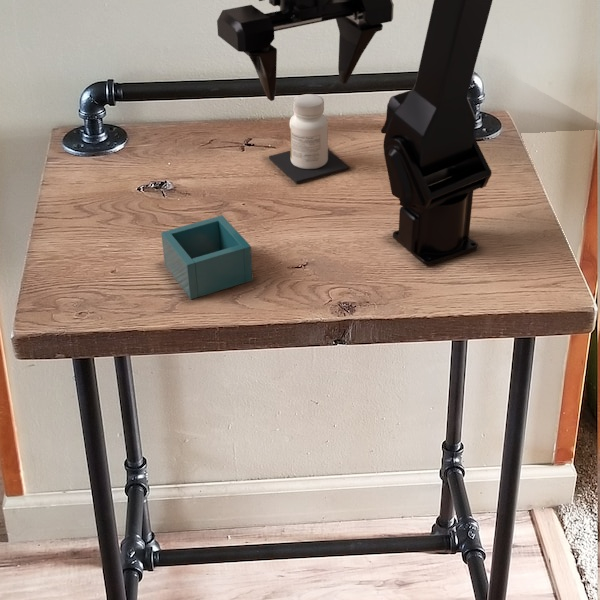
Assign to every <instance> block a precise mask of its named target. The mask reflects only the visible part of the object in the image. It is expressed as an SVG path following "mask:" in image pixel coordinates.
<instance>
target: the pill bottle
mask: <svg viewBox="0 0 600 600" xmlns="http://www.w3.org/2000/svg"><path fill="white" fill-rule="evenodd" d="M292 104H293V105H292V107H293V111H292V112H293V115H292V116H291V117H290V118H289V151H290V157H291V162H292V164H293V165H294V166H296V167H298V168H302V169H316V168H320V167H322V166H323V165H325V164H326V163H327V161H328V149H329V120H328V118H327V117H326V115H325V114H324V112H325V99H324V98H323V97H322V96H320V95H319V94H314V93H305V94H300V95H298V96H296V97H294V98H293V103H292Z"/></svg>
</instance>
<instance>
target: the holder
mask: <svg viewBox="0 0 600 600" xmlns="http://www.w3.org/2000/svg"><path fill="white" fill-rule="evenodd" d="M160 236H161V243H162V253H163V261H164V267H165V268H166V269H167V271H168V273H170V275H171V276H172V278H173V279H174V280H175V281H176V282H177V284H178V285H179V287H180V288H181V290H182V291H183V292H184V293H185V295H187V297H188V298H189V299H190V300H194V299H197V298H200V297H204V296H207V295H210V294H213V293H217V292H220V291H224V290H226V289H229V288H233V287H236V286H239V285H242V284H245V283H250V282H252V281H253V280H254V278H253V277H254V276H253V260H252V258H253V257H252V246H251V244H250V243H249V242H248V241H247V240H246V239H245V238H244V237H243V236H242V235H241V233H240V232H238V230H237V229H236V228H235V227H234V226H233V225H232V223H231V222H229V221H228V219H226V217H225V216H224V215H218V216H214V217H211V218H208V219H203V220H200V221H196V222H192V223H189V224H186V225H182V226H179V227H175V228H171V229H168V230H165V231H162V232H160Z"/></svg>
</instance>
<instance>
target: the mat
mask: <svg viewBox="0 0 600 600" xmlns="http://www.w3.org/2000/svg"><path fill="white" fill-rule="evenodd" d="M268 160H270V162H272V163H273V164H274V165H275V166H276V167H277V168H278V169H280V170H281V172H283V173H284V174H285V175H286V177H288V178H289V179H291V181H292V182H294V183H295V184H296V185H299V184H302V183H305V182H310V181H313V180H317V179H321V178H324V177H329V176H331V175H335V174H339V173H343V172H346V171H349V170H350V169H351V166H349V164H347V163H346V162H345V161H343V160H342V159H341V158H340V157H338V155H336V154H335V153H334V152H333V151H332V150H330V149H329V148H328V161H327V163H326V164H325V165H323V166H322V167H320V168H316V169H302V168H298V167H296V166H294V165H293V164H292V162H291V157H290V150H288V151H284V152H283V151H282V152H280V153H276V154H272V155H269V156H268Z"/></svg>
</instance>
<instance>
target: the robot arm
mask: <svg viewBox="0 0 600 600" xmlns="http://www.w3.org/2000/svg"><path fill="white" fill-rule="evenodd" d="M263 1H264V0H258V2H263ZM268 4H270V5H271V6H272V7H279V10H276V11H272V12H266V13H264V12H263V11H261V10H260V9H258V8H257V7H255V6H254V5H253V4H248V5H243V6H238V7H232V8H227V9H222V10H221V12H220V15H219V16H218V17H217V20H216V26H217V36H218V37H219V38H220V39H222V40H223V41H224V42H226V43H227V44H228V45H229V46H231V47H232V48H233V49H234V50H236V51H237V52H241V53H244V54H246V55H247V57H249V59H250V61H251V63H252V64H253V67H254V69H255V72H256V74H257V77H258V79H259V81H260V84H261V86H262V89H263V92H264V94H265V96H266V98H267V100H269V101H270V102H273V101H275V98H276V94H277V93H276V92H277V67H278V65H277V64H278V63H277V62H278V61H277V60H278V49H277V48H276V47H275V46H273V45H272V43H273V41H274V40H275V32H278V31H282V30H288V29H292V28H293V29H294V28H297V27H302V26H306V25H307V26H308V25H313V24H317V23H323V22H326V21H332V20H335V21H336V24H337V28H338V32H339V33H338V34H339V37H338V38H339V39H338V62H337V63H338V66H337V68H338V70H337V71H338V80H339V82H340V83H341V84H343V85H346V84H347V83H348V82H349V80H350V78H351V76H352V75H353V72H354V70H355V68H356V66H357V65H358V63H359V60H360V59H361V57H362V55H363V54H364V52H365V50H366V49H367V47H368V46H369V44H370V43H371V41H372V39H373V38H374V36H376V35H375V34H376V33H378V32H380V31H381V32H382V30H383V28H384V27H383V26H384V25H383V24H385V23H386V24H387V23H390V22H392V21H393V20H394V5H395V4H394V2H393V0H268ZM492 4H493V0H433V3H432V7H431V13H430V17H429V21H428V25H427V30H426V34H425V38H424V44H423V48H422V51H421V52H422V53H421V57H420V61H419V66H418V71H417V75H416V79H415V84H414V85H413V87H412V89H410V90H407V91H404V92H400V93H398V94H395V95H392V96H391V97H390V98H389V100H388V102H387V105H386V116H385V117H386V118H385V121H384V124H383V126H382V128H381V129H380V133H381V134H384V137H383V155H384V160H385V165H386V170H387V171H386V172H387V176H388V181H389V186H390V191H391V194H392V196H393V197H395V198H397V199H398V201H399V206H400V208H399V217H398V230H395V231H393V232H392V238H393V239H394V240H395V241H396V242H397V243H398V244H399V245H401V247H403V248H405V250H407V251H408V252H409V253H410V254H411V255H412V256H413V257H414V258H415V259H417V260H418V261H419V262H420V263H422V264H423V265H424V266H432V265H435V264H438V263H441V262H445V261H447V260H450V259H453V258H456V257H459V256H462V255H466V254H468V253H472V252H475V251H477V250H478V248H479V244H478V243H477V242H476V241H475V240H473V238H471V237H470V231H471V230H470V229H471V219H472V209H473V199H474V191H475V190H478V189H483V188H485V187H487V184H488V182H489V180H490V178H491V177H492V170H491V167H490V165H489V164H488V162H487V160H486V158H485V156H484V154H483V151H482V149H481V148H480V145H479V143H478V142H477V139H476V137H475V128H476V120H477V119H476V115H475V112H474V109H473V107H472V104H471V102H470V100H469V97H468V95H469V90H470V87H471V83H472V78H473V76H474V75H473V74H474V71H475V67H476V64H477V60H478V56H479V53H480V49H481V45H482V41H483V38H484V34H485V30H486V27H487V23H488V19H489V15H490V12H491V7H492Z"/></svg>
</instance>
